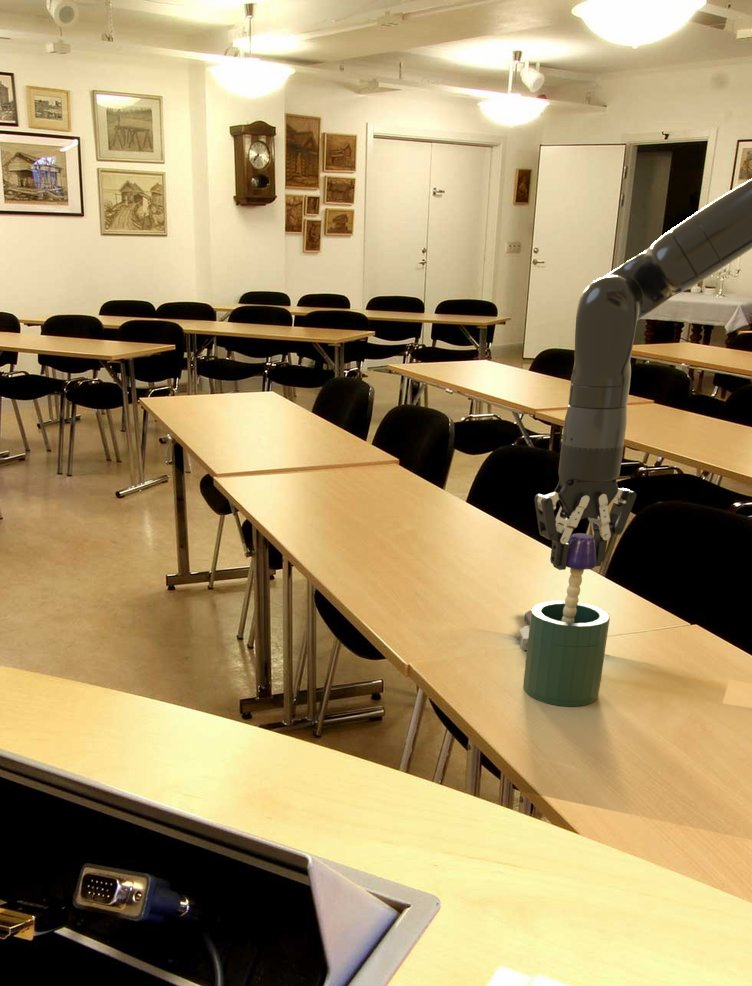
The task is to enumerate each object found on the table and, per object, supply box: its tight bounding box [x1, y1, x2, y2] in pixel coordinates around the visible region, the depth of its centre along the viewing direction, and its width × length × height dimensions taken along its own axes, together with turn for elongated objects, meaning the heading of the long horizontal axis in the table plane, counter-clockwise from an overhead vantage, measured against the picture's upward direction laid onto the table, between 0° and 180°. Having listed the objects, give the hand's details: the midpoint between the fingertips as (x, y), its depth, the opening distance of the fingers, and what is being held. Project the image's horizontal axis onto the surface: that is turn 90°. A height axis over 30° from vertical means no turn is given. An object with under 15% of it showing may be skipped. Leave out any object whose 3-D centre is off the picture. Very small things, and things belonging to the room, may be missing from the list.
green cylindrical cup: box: [522, 600, 611, 707], centre depth 129 cm, size 10×10×12 cm
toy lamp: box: [561, 532, 597, 623], centre depth 125 cm, size 5×5×17 cm
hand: (576, 566), depth 124 cm, fingers closed on toy lamp, 4 cm apart
